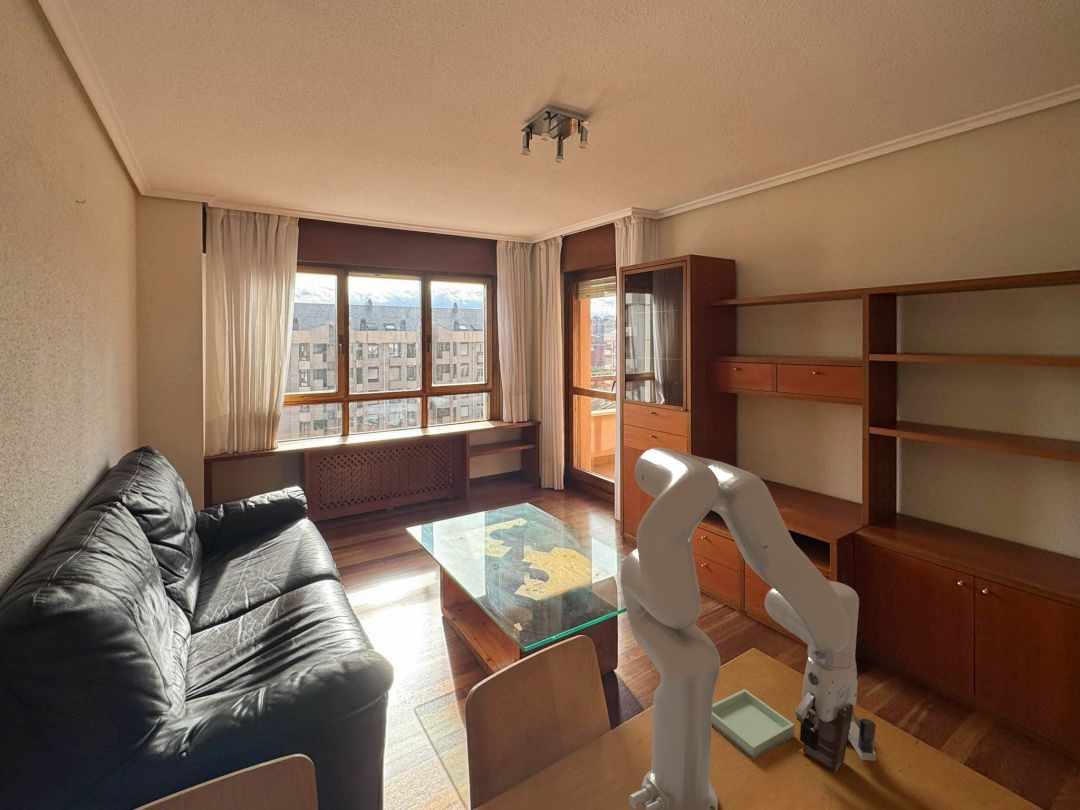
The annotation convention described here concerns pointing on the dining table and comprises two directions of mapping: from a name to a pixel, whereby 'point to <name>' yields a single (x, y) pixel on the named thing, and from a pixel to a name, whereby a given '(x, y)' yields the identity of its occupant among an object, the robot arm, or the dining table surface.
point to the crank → (863, 738)
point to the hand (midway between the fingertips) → (825, 735)
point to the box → (831, 739)
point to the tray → (750, 723)
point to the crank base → (847, 740)
